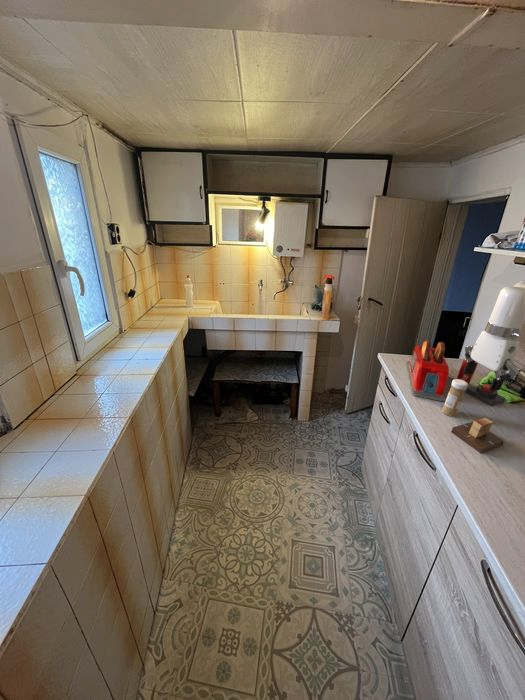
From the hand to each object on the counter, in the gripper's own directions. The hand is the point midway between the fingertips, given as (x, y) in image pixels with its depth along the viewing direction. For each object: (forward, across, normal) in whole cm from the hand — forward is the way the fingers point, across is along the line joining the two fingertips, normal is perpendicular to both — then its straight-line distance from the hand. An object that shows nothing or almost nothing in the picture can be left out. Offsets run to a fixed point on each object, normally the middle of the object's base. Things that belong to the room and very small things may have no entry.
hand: (480, 381), depth 88 cm
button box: (+19, +16, -26) cm, 36 cm away
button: (+15, +16, -26) cm, 35 cm away
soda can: (+19, +28, -26) cm, 43 cm away
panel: (+19, -5, -2) cm, 20 cm away
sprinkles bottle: (+19, +9, -3) cm, 21 cm away
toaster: (+19, +32, -10) cm, 38 cm away
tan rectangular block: (+17, -5, -2) cm, 18 cm away
